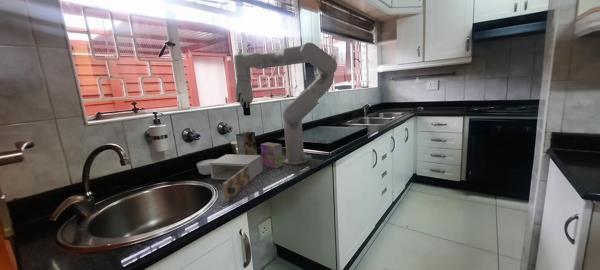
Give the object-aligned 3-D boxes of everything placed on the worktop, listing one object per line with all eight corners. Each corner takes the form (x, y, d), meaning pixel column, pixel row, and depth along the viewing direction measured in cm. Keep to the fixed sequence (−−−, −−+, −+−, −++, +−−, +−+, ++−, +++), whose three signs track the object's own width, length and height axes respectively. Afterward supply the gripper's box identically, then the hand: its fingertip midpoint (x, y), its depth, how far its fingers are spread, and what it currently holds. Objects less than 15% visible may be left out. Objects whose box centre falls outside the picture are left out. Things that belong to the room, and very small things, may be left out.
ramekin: (201, 169, 136) (200, 159, 135) (222, 167, 137) (221, 158, 136) (194, 176, 125) (193, 166, 124) (217, 174, 126) (216, 164, 125)
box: (262, 165, 136) (260, 144, 133) (270, 162, 140) (268, 141, 137) (275, 169, 129) (273, 146, 126) (283, 165, 133) (281, 144, 130)
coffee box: (250, 157, 153) (247, 131, 150) (258, 158, 149) (255, 131, 146) (238, 161, 146) (235, 134, 142) (246, 163, 142) (242, 134, 139)
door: (247, 180, 113) (245, 165, 112) (253, 181, 113) (251, 166, 111) (225, 201, 94) (222, 183, 93) (232, 201, 94) (229, 183, 92)
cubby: (262, 170, 127) (261, 155, 126) (249, 181, 114) (247, 164, 113) (228, 169, 133) (226, 154, 132) (211, 178, 120) (209, 162, 119)
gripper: (244, 79, 137) (247, 113, 140) (228, 80, 123) (233, 117, 126) (256, 78, 135) (260, 113, 138) (242, 78, 121) (246, 117, 124)
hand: (247, 115), depth 132 cm, fingers closed
